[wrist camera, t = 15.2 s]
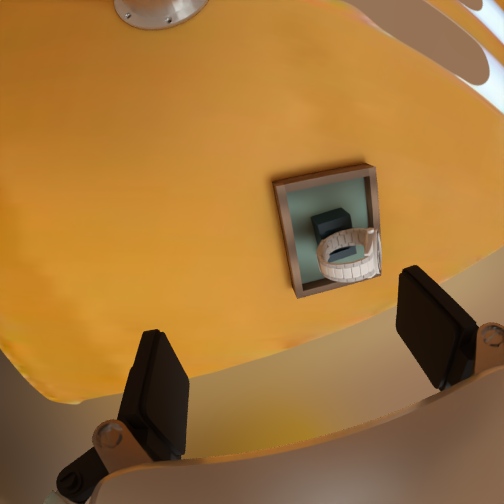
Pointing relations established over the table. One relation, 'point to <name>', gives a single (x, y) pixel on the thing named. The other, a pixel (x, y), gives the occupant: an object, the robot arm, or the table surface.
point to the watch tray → (316, 202)
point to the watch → (345, 247)
